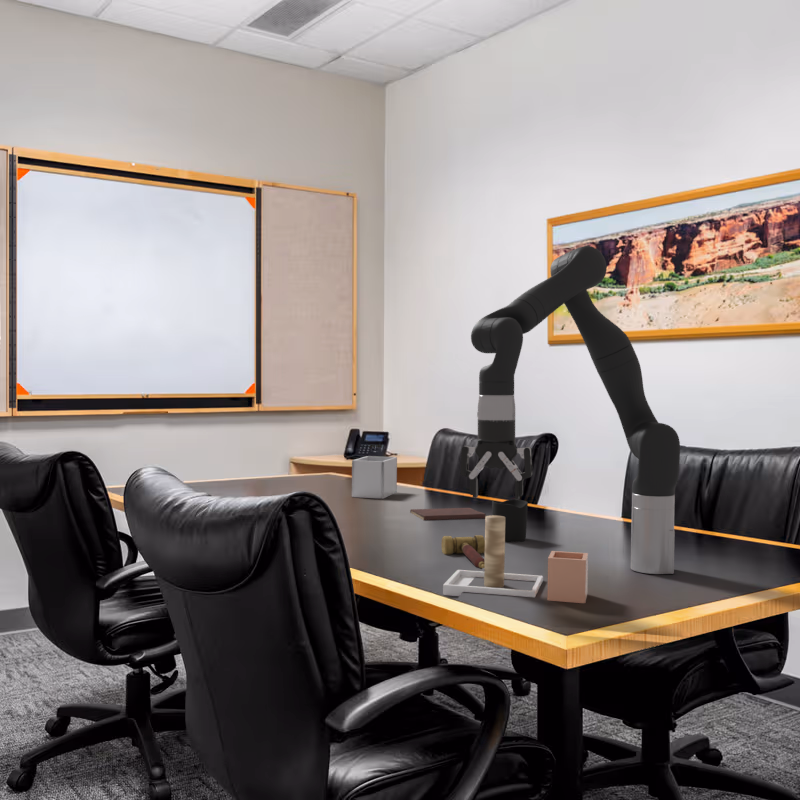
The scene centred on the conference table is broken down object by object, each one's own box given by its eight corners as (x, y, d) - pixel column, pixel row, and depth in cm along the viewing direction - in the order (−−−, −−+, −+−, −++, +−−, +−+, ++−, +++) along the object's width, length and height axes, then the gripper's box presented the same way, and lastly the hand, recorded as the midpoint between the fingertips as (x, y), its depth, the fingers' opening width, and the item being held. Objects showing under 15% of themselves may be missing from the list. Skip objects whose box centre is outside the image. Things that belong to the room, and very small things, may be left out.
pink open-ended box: (587, 599, 168) (588, 553, 168) (585, 608, 161) (585, 560, 161) (550, 596, 170) (551, 550, 170) (547, 605, 163) (548, 557, 163)
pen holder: (526, 543, 224) (526, 505, 224) (489, 541, 226) (490, 503, 226) (528, 536, 233) (528, 500, 233) (493, 535, 235) (493, 498, 235)
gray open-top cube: (396, 492, 320) (397, 457, 319) (383, 498, 303) (383, 461, 302) (366, 490, 323) (367, 456, 322) (351, 497, 306) (352, 460, 305)
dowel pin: (505, 584, 176) (506, 516, 175) (502, 589, 172) (503, 519, 171) (485, 583, 177) (487, 514, 176) (482, 587, 173) (483, 518, 172)
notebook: (410, 514, 272) (410, 508, 272) (469, 512, 278) (469, 506, 278) (423, 522, 258) (423, 515, 258) (485, 520, 263) (486, 513, 263)
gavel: (505, 556, 193) (462, 557, 192) (505, 576, 194) (462, 577, 192) (480, 533, 214) (441, 534, 212) (480, 551, 214) (440, 552, 213)
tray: (542, 585, 179) (542, 575, 179) (534, 602, 165) (535, 591, 165) (457, 579, 183) (457, 569, 183) (443, 594, 170) (443, 584, 170)
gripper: (534, 417, 175) (533, 497, 175) (465, 416, 179) (464, 494, 179) (530, 419, 168) (529, 502, 168) (457, 418, 171) (457, 499, 172)
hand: (496, 498), depth 174 cm, fingers open, 8 cm apart
